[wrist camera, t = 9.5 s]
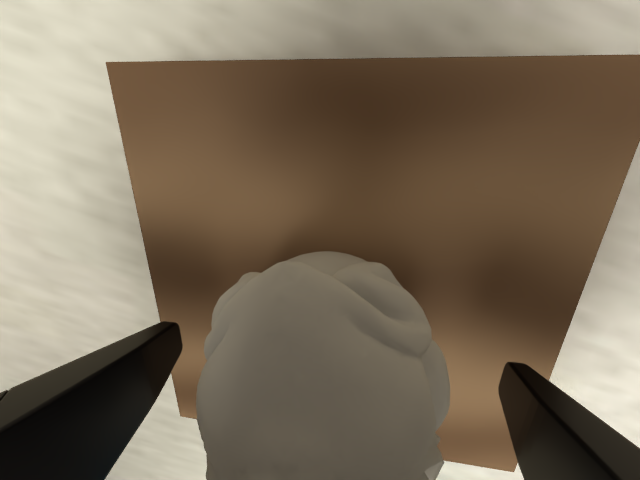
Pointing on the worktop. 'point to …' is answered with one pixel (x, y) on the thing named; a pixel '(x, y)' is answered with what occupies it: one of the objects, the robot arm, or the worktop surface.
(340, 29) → the worktop surface
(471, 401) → the walnut block
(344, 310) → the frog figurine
